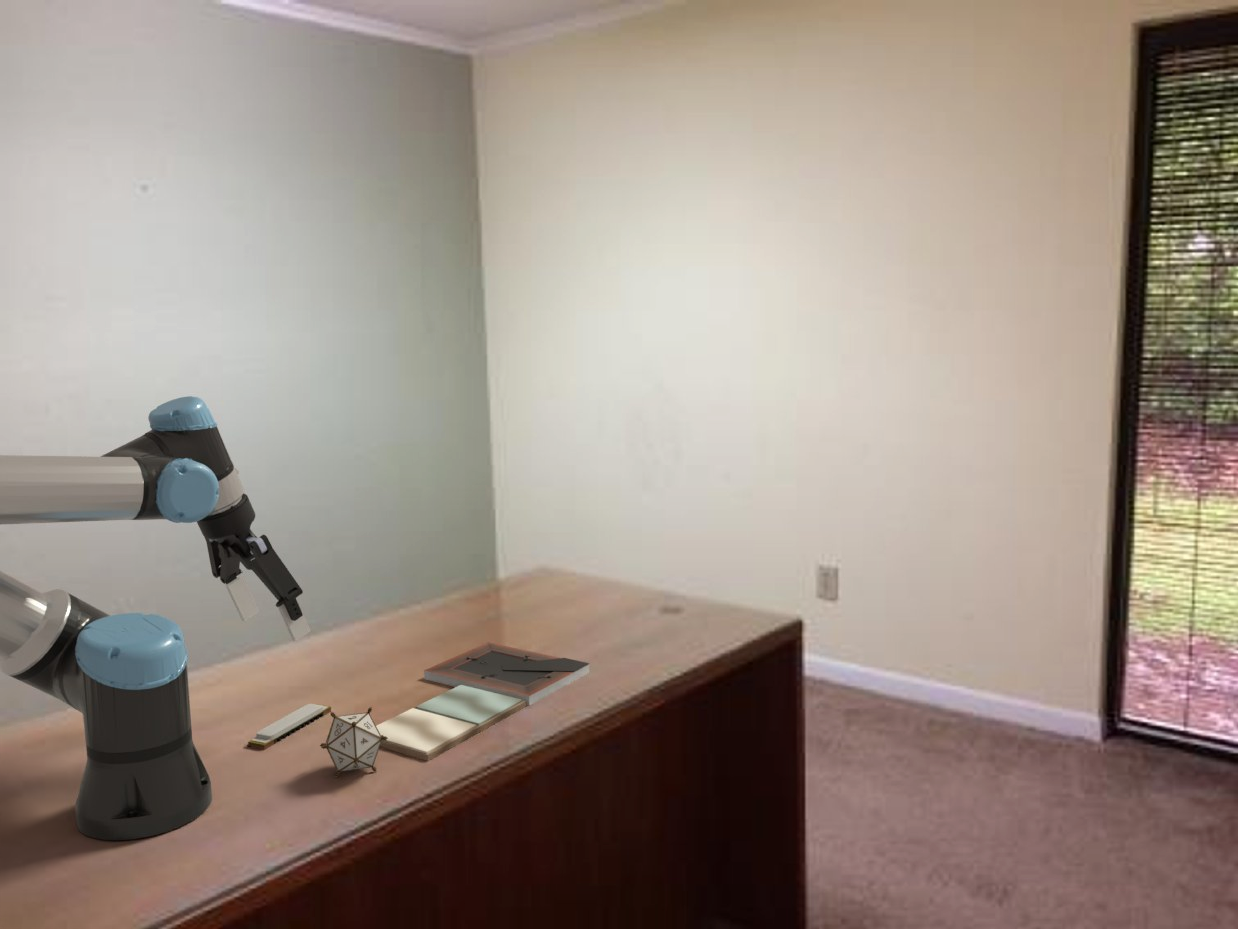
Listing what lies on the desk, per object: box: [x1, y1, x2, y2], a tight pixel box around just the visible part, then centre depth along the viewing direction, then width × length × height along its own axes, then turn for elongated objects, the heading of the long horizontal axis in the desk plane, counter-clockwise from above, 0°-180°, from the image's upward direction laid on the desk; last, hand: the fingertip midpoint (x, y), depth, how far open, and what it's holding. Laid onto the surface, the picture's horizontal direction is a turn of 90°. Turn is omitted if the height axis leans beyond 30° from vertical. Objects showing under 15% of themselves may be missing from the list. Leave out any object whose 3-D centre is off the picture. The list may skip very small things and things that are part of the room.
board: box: [376, 685, 527, 762], centre depth 152 cm, size 22×13×1 cm, turn 148°
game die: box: [319, 706, 387, 778], centre depth 136 cm, size 9×8×10 cm
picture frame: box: [423, 642, 590, 706], centre depth 171 cm, size 16×2×22 cm
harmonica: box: [246, 703, 332, 751], centre depth 151 cm, size 15×3×2 cm, turn 157°
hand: (275, 625), depth 154 cm, fingers open, 13 cm apart
